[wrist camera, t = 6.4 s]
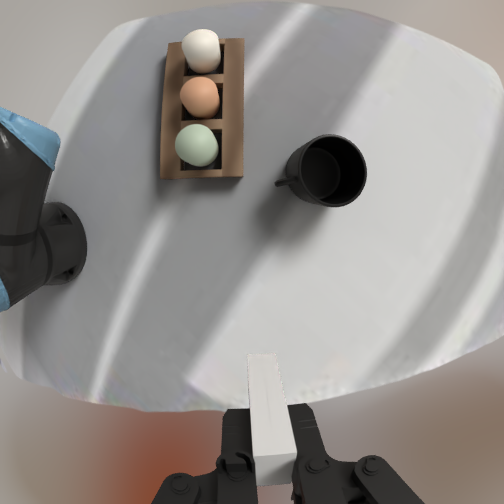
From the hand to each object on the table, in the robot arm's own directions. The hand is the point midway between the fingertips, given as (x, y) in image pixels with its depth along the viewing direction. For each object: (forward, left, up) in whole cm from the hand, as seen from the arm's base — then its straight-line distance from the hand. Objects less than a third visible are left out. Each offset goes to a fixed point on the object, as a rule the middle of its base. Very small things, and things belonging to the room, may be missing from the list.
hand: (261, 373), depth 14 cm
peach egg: (-7, +23, -29) cm, 38 cm away
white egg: (-7, +30, -27) cm, 41 cm away
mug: (+9, +12, -30) cm, 34 cm away
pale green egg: (-7, +15, -27) cm, 32 cm away
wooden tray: (-7, +23, -30) cm, 38 cm away
